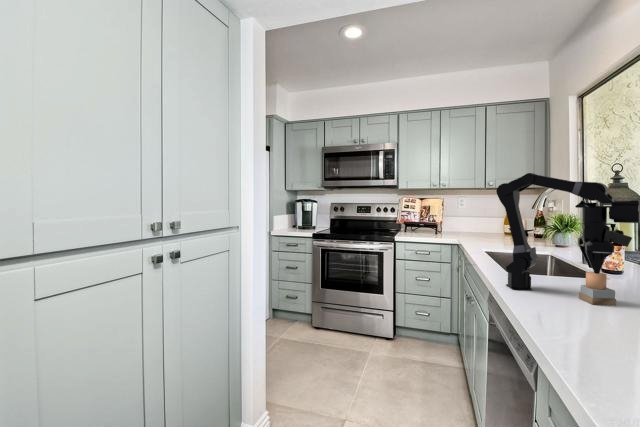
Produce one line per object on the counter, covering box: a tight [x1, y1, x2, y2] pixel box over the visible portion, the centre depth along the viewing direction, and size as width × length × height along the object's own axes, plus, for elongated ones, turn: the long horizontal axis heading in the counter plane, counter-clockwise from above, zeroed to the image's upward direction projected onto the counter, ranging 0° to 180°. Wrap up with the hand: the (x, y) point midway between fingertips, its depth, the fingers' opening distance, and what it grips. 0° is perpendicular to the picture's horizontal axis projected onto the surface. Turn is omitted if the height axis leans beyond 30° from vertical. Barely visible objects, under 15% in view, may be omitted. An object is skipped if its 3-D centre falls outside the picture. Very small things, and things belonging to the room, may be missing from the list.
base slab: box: [578, 291, 617, 307], centre depth 102 cm, size 6×6×2 cm
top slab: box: [580, 284, 616, 299], centre depth 102 cm, size 6×6×2 cm
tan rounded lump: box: [585, 271, 607, 290], centre depth 102 cm, size 5×5×4 cm
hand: (593, 270), depth 102 cm, fingers open, 9 cm apart
